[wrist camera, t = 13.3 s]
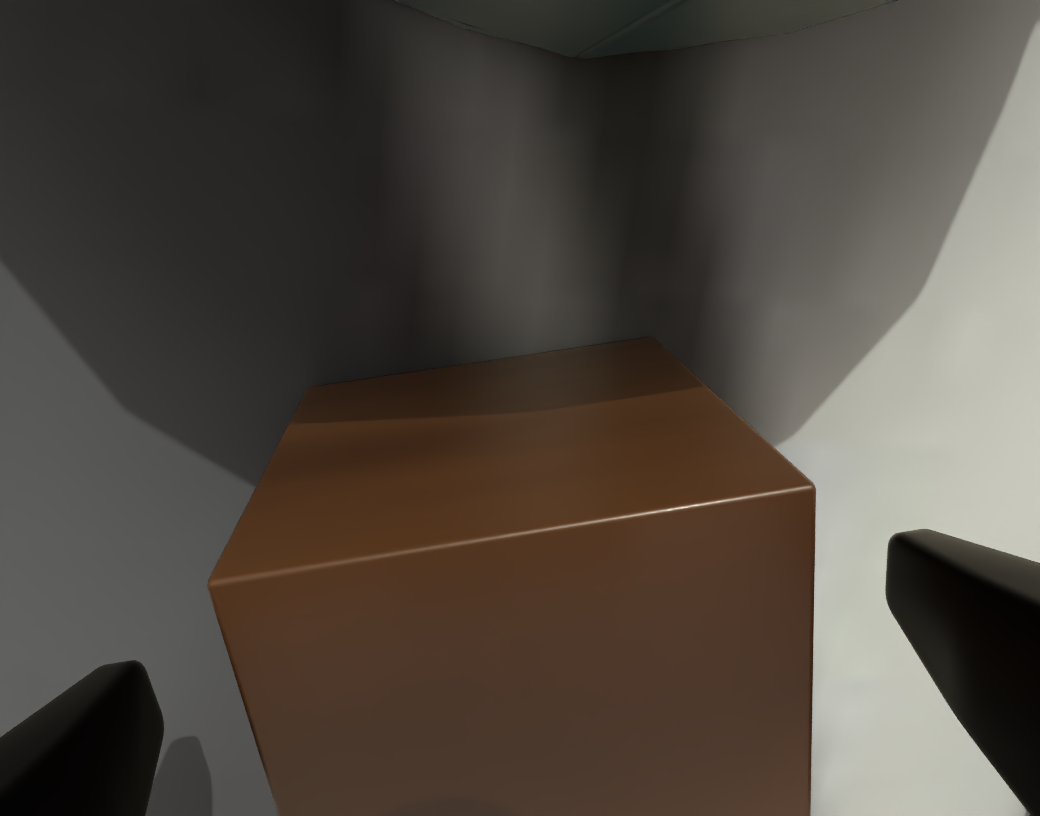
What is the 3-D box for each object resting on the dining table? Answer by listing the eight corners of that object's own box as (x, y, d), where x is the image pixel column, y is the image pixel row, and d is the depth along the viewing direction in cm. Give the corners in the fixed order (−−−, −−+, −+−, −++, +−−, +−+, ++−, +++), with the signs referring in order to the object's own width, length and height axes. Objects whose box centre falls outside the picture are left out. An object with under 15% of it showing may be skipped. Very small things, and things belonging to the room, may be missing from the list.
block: (671, 623, 13) (811, 910, 8) (372, 674, 12) (334, 1003, 8) (653, 335, 11) (818, 483, 6) (305, 386, 11) (202, 583, 6)
